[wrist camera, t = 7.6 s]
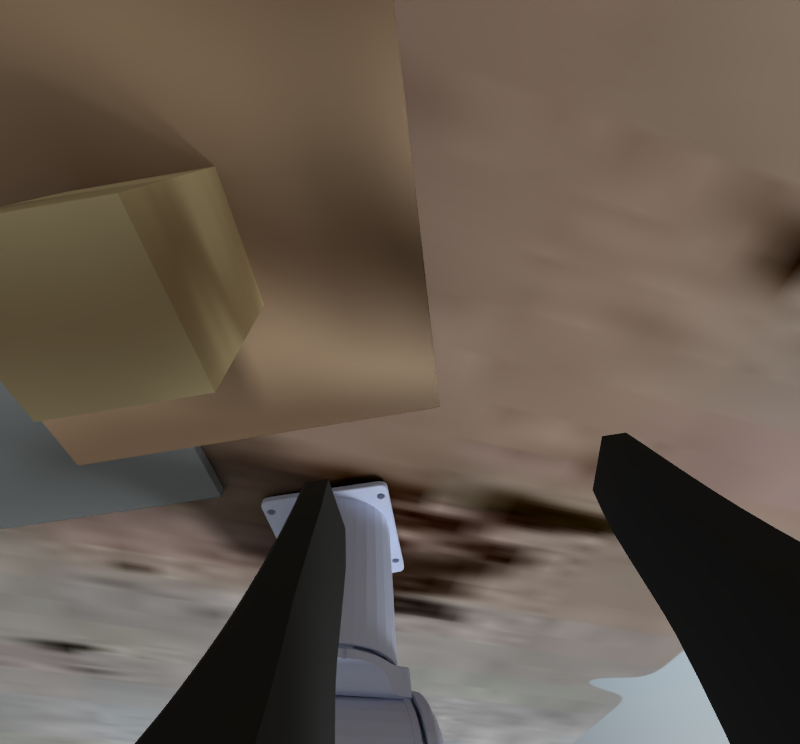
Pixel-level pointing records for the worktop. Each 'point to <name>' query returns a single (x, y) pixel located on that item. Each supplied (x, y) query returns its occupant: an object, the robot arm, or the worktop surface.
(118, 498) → the mat
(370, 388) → the lid
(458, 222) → the worktop surface
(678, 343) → the worktop surface
